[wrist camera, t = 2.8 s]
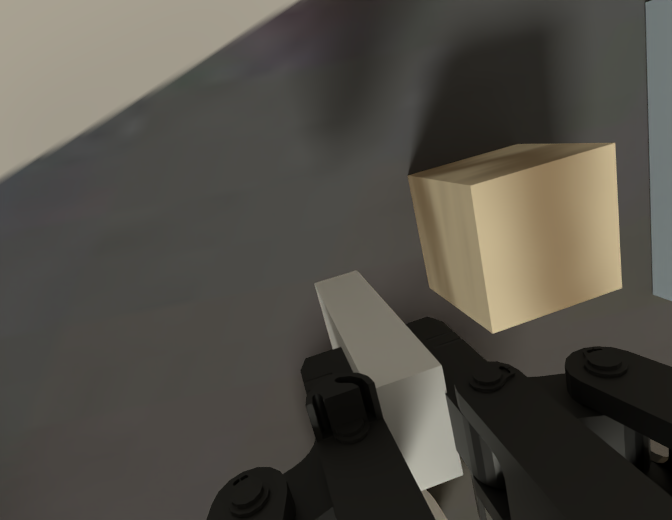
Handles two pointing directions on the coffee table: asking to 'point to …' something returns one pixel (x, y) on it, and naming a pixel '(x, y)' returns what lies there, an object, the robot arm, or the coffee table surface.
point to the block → (520, 230)
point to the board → (660, 140)
